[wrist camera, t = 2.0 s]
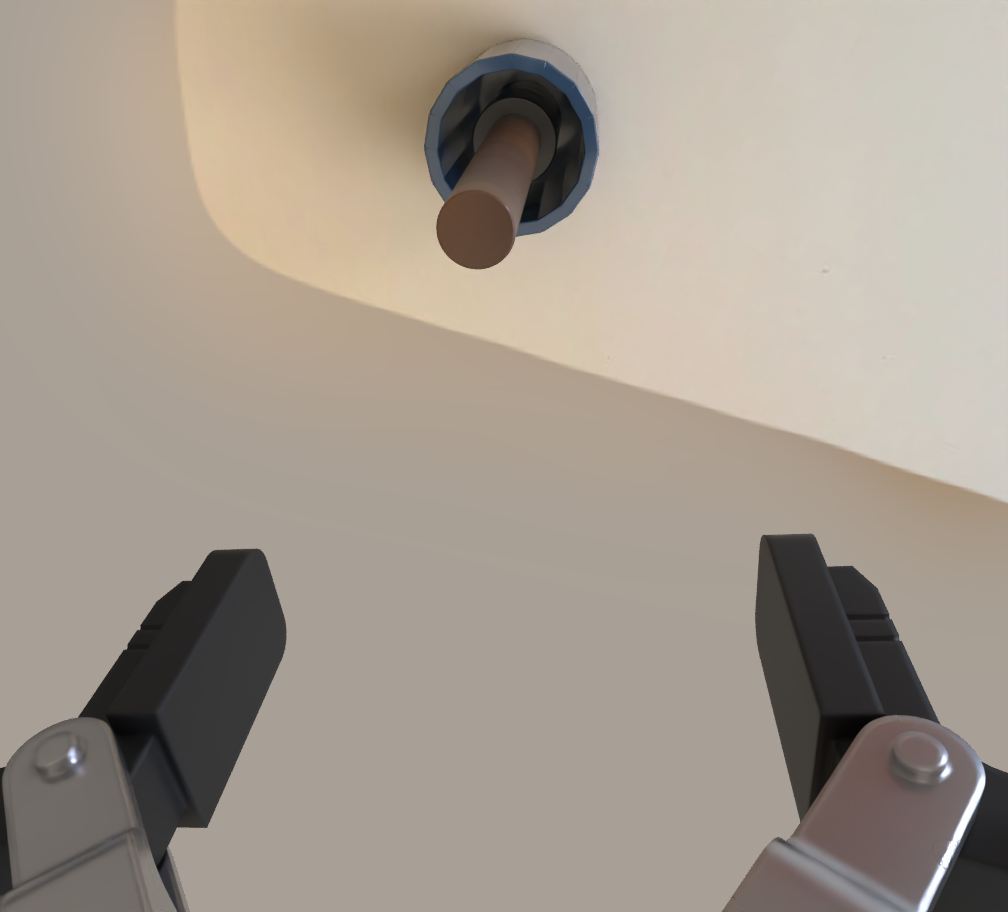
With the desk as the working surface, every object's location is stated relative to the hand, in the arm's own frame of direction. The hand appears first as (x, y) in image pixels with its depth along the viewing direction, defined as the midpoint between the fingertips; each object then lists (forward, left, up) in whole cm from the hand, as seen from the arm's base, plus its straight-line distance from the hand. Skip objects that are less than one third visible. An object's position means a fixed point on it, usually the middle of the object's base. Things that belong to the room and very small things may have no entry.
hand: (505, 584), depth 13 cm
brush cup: (-2, +3, -28) cm, 28 cm away
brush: (-2, +3, -27) cm, 27 cm away
